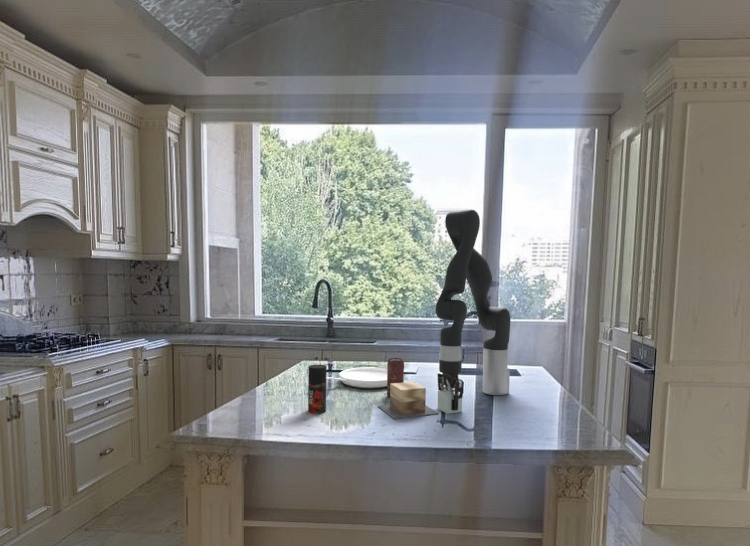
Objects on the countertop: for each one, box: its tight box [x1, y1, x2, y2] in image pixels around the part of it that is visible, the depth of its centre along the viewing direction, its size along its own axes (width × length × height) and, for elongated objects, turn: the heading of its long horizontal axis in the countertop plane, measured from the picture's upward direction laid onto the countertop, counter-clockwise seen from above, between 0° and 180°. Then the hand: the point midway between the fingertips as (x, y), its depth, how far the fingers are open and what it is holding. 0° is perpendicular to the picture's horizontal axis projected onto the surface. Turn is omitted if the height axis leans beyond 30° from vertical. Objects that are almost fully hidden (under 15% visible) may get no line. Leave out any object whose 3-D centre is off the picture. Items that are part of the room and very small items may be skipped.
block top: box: [390, 381, 427, 402], centre depth 161 cm, size 9×9×4 cm
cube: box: [437, 390, 463, 414], centre depth 162 cm, size 6×6×6 cm
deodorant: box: [307, 364, 327, 415], centre depth 159 cm, size 6×6×15 cm
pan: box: [326, 366, 387, 390], centre depth 195 cm, size 25×38×5 cm, turn 124°
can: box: [386, 357, 405, 399], centre depth 178 cm, size 6×6×14 cm
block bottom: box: [389, 395, 427, 415], centre depth 161 cm, size 9×9×4 cm
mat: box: [377, 404, 439, 420], centre depth 161 cm, size 16×14×1 cm
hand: (449, 407), depth 162 cm, fingers closed on cube, 6 cm apart
